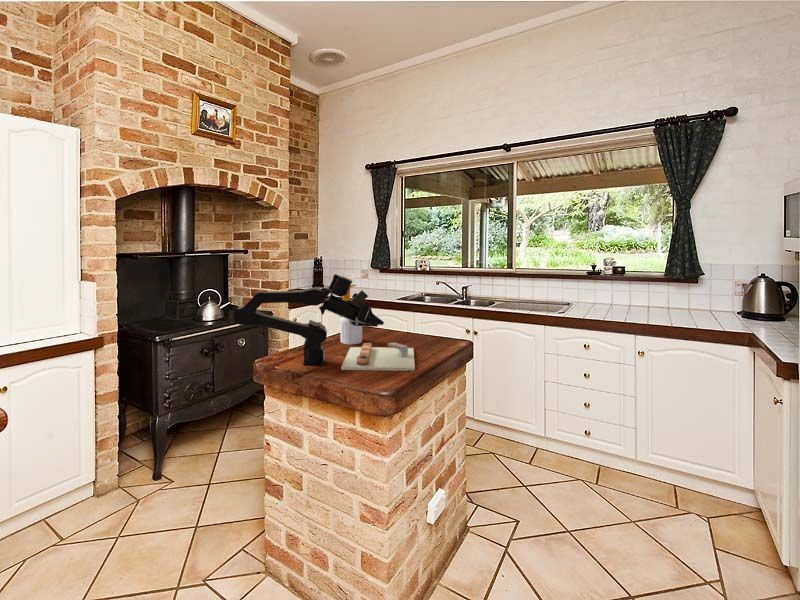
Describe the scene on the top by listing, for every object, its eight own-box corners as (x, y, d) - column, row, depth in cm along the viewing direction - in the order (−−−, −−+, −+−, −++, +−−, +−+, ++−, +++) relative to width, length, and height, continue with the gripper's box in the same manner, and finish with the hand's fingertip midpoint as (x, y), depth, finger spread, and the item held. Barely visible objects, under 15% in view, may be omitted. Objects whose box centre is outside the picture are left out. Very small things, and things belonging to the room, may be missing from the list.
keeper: (401, 360, 165) (401, 347, 164) (387, 355, 170) (387, 343, 170) (407, 358, 167) (407, 346, 166) (393, 354, 173) (393, 342, 172)
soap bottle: (352, 346, 184) (351, 286, 181) (336, 342, 190) (335, 284, 186) (366, 341, 191) (366, 284, 188) (350, 338, 197) (350, 282, 193)
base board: (341, 369, 153) (341, 367, 153) (350, 349, 179) (350, 347, 179) (414, 370, 153) (414, 367, 153) (413, 350, 178) (413, 347, 178)
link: (368, 364, 155) (368, 357, 154) (355, 364, 155) (355, 357, 154) (373, 348, 176) (373, 341, 176) (361, 347, 176) (361, 341, 176)
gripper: (353, 282, 152) (395, 301, 155) (345, 290, 170) (383, 306, 173) (340, 312, 150) (383, 331, 153) (334, 317, 168) (372, 333, 171)
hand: (380, 324), depth 162 cm, fingers open, 9 cm apart
